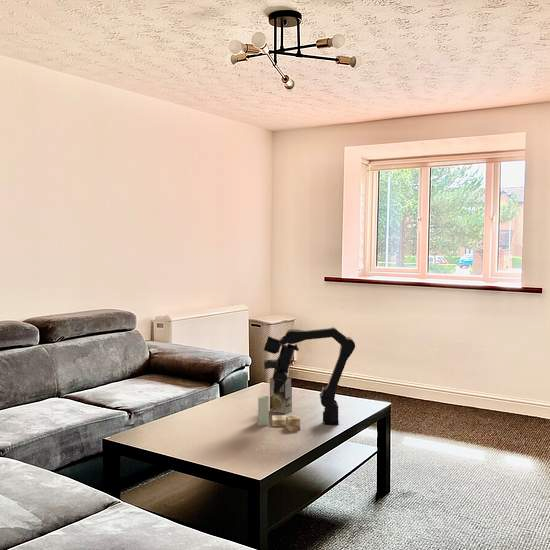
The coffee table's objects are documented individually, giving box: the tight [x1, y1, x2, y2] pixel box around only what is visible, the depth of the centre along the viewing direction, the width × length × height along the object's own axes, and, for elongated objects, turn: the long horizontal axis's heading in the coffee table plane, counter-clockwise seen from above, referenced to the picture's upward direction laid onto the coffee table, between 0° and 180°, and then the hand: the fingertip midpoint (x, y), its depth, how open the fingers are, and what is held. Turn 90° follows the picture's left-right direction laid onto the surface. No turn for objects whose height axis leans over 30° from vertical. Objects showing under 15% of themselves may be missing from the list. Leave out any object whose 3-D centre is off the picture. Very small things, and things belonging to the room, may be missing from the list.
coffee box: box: [269, 376, 293, 415], centre depth 283 cm, size 9×6×16 cm
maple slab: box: [271, 414, 289, 427], centre depth 264 cm, size 7×7×3 cm
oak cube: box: [285, 415, 301, 431], centre depth 257 cm, size 5×5×5 cm
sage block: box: [257, 395, 270, 426], centre depth 263 cm, size 4×4×12 cm
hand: (275, 390), depth 265 cm, fingers open, 9 cm apart
